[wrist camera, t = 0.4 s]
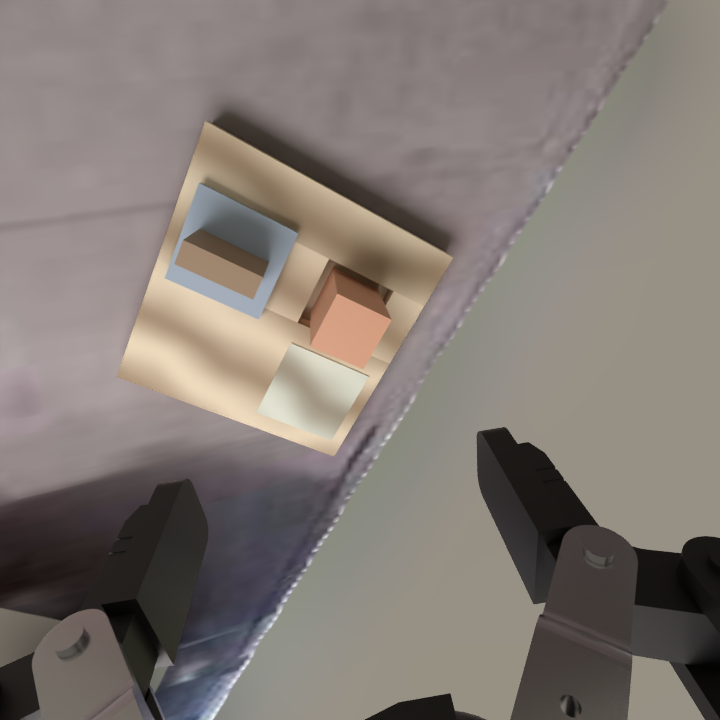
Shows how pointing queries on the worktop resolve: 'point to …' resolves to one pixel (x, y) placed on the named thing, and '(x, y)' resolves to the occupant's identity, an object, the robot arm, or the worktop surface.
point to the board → (278, 304)
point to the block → (348, 319)
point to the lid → (230, 252)
